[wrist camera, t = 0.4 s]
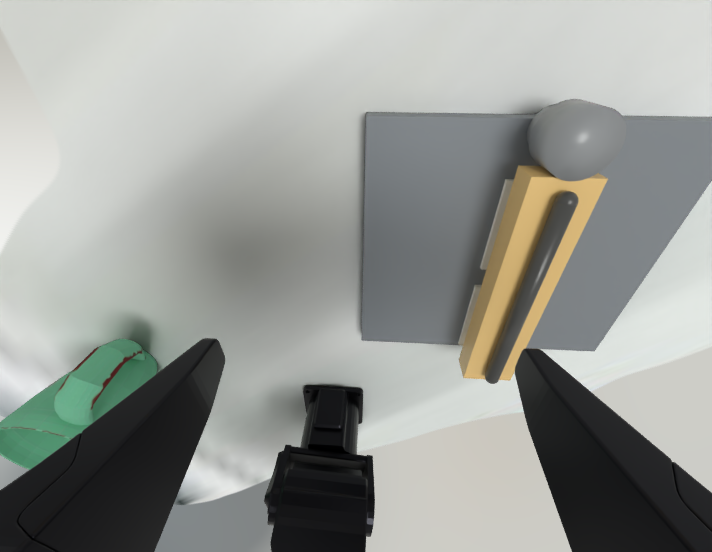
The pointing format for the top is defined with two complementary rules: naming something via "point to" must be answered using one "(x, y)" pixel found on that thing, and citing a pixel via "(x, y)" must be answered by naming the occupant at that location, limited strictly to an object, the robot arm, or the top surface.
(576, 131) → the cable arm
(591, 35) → the top surface
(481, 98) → the top surface
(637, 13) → the top surface
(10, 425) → the mug
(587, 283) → the panel
